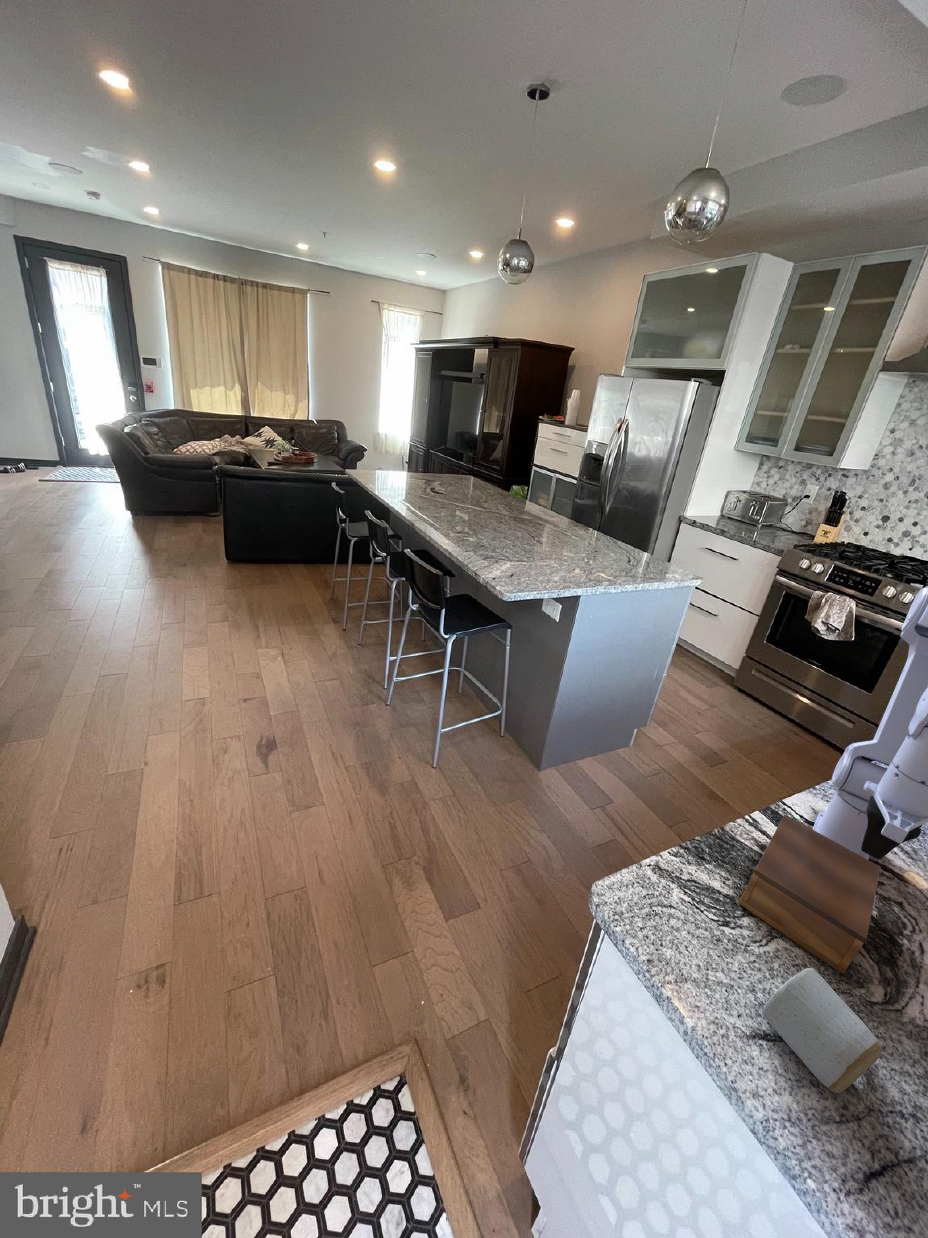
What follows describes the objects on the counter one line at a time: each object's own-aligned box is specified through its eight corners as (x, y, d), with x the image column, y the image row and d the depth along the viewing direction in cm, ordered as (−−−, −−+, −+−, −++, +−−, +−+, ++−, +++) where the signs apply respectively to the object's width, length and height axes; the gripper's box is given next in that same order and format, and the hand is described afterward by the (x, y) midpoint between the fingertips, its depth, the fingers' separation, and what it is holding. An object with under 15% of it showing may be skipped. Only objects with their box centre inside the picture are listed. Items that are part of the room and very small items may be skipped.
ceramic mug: (826, 1112, 49) (862, 1067, 46) (751, 1024, 56) (779, 979, 53) (880, 1063, 54) (916, 1020, 51) (805, 988, 61) (833, 945, 58)
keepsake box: (767, 847, 81) (781, 819, 79) (860, 902, 74) (878, 873, 72) (738, 903, 70) (753, 873, 68) (842, 974, 63) (863, 943, 61)
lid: (782, 817, 80) (784, 814, 79) (878, 870, 72) (881, 866, 72) (753, 873, 68) (755, 869, 68) (864, 943, 61) (866, 939, 60)
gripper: (886, 736, 71) (844, 811, 76) (874, 779, 61) (827, 861, 66) (951, 764, 67) (902, 840, 72) (950, 814, 56) (893, 899, 62)
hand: (870, 852), depth 69 cm, fingers closed
